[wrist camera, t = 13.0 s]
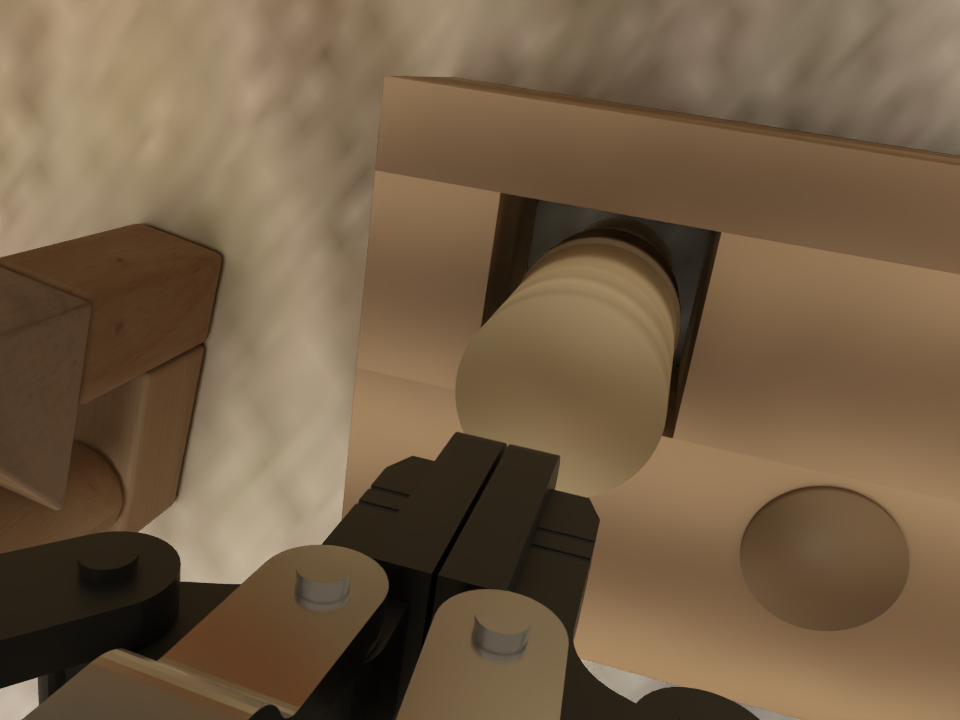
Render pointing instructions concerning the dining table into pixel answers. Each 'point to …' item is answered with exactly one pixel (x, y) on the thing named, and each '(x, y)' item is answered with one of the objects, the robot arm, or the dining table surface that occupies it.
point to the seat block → (710, 383)
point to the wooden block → (98, 380)
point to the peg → (580, 357)
